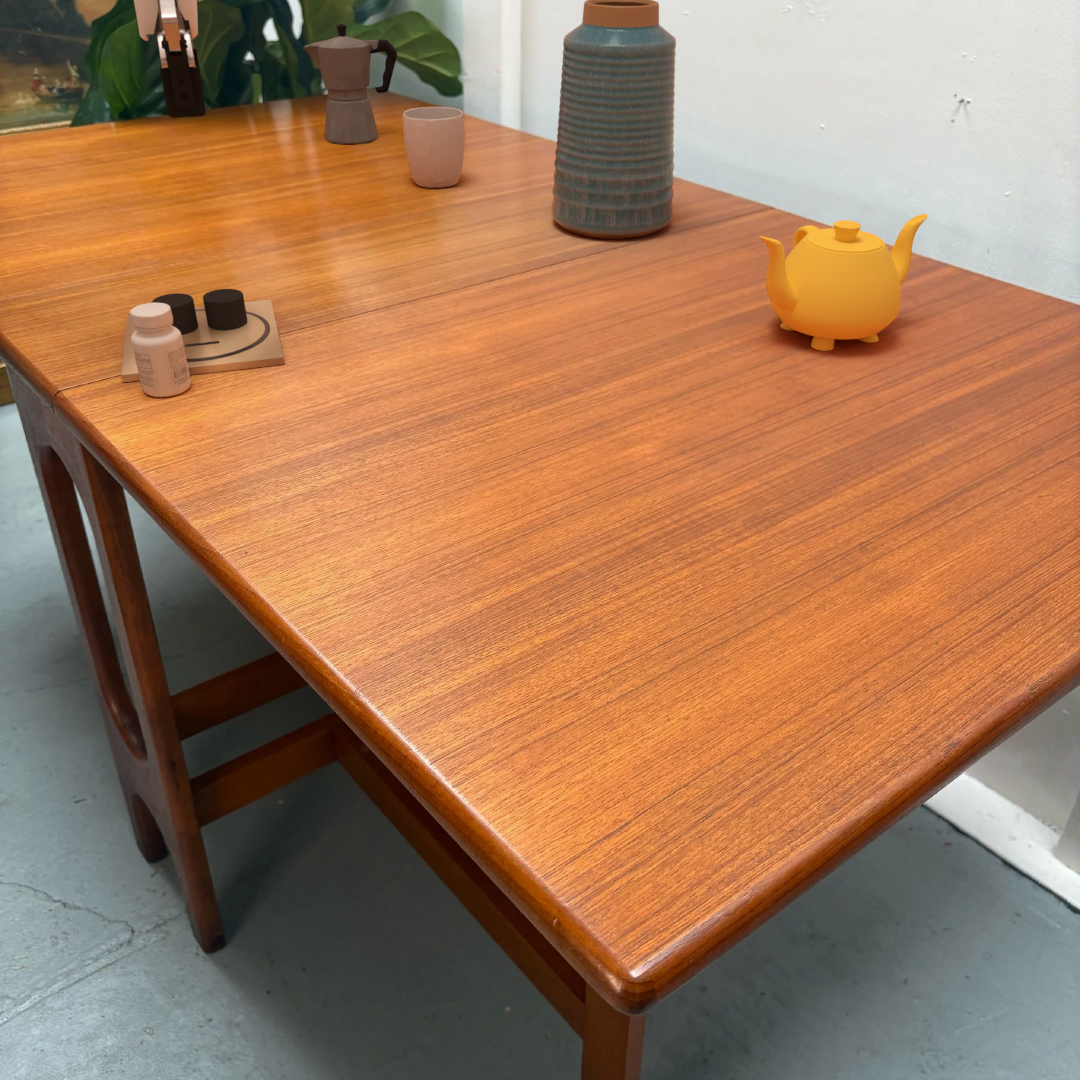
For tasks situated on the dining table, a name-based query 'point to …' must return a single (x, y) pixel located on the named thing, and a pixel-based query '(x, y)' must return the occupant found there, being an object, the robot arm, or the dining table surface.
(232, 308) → the dot
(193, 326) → the dot
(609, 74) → the vase
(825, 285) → the teapot
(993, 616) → the dining table surface
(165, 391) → the pill bottle
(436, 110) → the mug
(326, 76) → the coffeepot
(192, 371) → the board
